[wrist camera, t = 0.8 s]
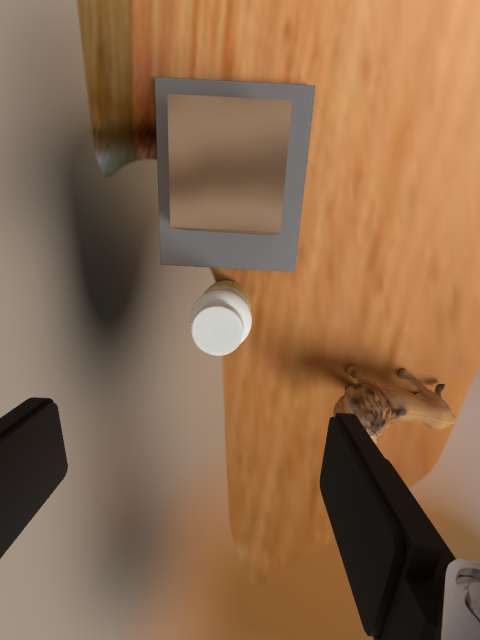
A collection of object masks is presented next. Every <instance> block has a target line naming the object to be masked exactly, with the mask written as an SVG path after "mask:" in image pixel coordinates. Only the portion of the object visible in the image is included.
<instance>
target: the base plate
mask: <svg viewBox="0 0 480 640" xmlns="http://www.w3.org/2000/svg"><path fill="white" fill-rule="evenodd" d="M167 94H180V95H199V96H218V97H237V98H256V99H275V100H292V111H291V122H290V133H289V143H288V154H287V165H286V176H285V187H284V198H283V208H282V219H281V230H280V233H278V234H276V235H258V234H240V233H222V232H204V231H186V230H181V229H177V228H174V227H170V193H169V145H168V97H167ZM314 94H315V86H314V85H295V84H276V83H257V82H238V81H219V80H200V79H181V78H162V77H155V101H156V133H157V164H158V196H159V227H160V258H161V264H162V265H178V266H196V267H214V268H231V269H249V270H267V271H285V272H295V265H296V256H297V247H298V238H299V229H300V220H301V211H302V202H303V193H304V184H305V175H306V166H307V157H308V148H309V139H310V130H311V121H312V112H313V103H314Z"/></svg>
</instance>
